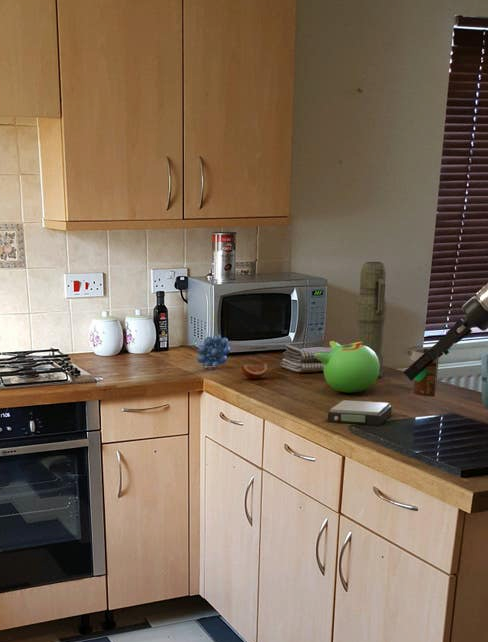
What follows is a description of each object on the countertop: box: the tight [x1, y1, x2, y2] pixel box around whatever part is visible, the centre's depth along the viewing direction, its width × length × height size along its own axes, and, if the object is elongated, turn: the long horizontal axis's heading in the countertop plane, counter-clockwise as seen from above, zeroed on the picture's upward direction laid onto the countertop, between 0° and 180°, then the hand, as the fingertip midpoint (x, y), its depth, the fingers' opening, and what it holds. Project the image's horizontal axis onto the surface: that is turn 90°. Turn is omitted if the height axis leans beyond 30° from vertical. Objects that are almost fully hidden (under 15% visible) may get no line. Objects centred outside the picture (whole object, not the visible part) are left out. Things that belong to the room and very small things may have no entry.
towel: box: [280, 343, 332, 374], centre depth 295 cm, size 15×18×8 cm
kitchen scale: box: [327, 399, 393, 426], centre depth 221 cm, size 14×13×3 cm
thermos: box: [356, 261, 387, 379], centre depth 274 cm, size 9×12×35 cm
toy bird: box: [314, 340, 380, 394], centre depth 253 cm, size 18×17×15 cm
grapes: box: [196, 333, 231, 370], centre depth 301 cm, size 12×7×12 cm, turn 101°
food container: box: [410, 347, 440, 398], centre depth 206 cm, size 12×6×10 cm, turn 161°
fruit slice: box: [241, 362, 269, 380], centre depth 280 cm, size 8×7×5 cm
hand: (413, 372), depth 207 cm, fingers closed on food container, 12 cm apart
